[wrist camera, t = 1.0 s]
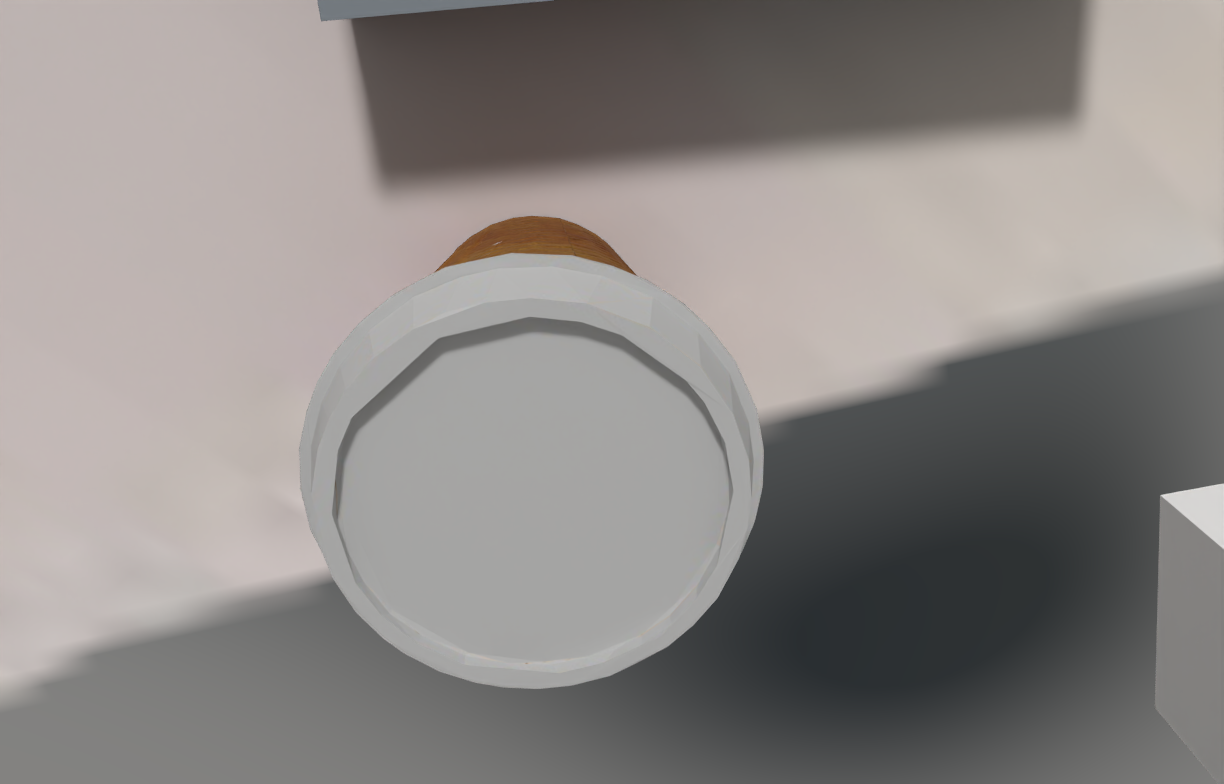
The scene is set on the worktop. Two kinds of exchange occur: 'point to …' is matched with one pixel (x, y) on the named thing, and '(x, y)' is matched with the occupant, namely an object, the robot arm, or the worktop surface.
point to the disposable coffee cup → (531, 462)
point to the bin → (398, 7)
